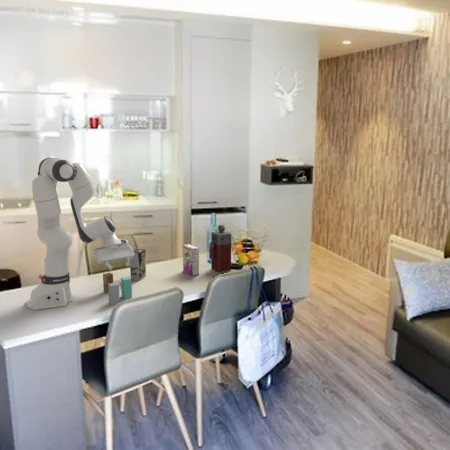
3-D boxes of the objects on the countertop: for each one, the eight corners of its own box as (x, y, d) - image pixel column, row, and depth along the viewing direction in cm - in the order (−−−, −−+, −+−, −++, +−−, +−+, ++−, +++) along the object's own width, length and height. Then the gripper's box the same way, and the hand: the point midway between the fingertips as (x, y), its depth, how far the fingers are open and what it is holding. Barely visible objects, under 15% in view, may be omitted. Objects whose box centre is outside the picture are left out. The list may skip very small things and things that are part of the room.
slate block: (112, 305, 254) (111, 286, 252) (108, 302, 258) (108, 283, 255) (119, 303, 257) (118, 284, 254) (116, 301, 260) (115, 282, 258)
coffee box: (140, 280, 293) (140, 253, 289) (130, 279, 294) (129, 252, 290) (146, 275, 301) (145, 249, 298) (136, 274, 303) (135, 248, 299)
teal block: (124, 298, 263) (124, 280, 261) (121, 296, 267) (120, 278, 264) (131, 297, 266) (131, 278, 263) (128, 295, 269) (128, 276, 267)
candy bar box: (182, 271, 310) (182, 244, 307) (189, 269, 313) (189, 243, 310) (192, 276, 301) (191, 249, 298) (199, 274, 304) (199, 247, 300)
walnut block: (106, 293, 270) (105, 275, 268) (103, 291, 273) (102, 273, 271) (113, 292, 272) (113, 274, 270) (110, 290, 276) (110, 272, 274)
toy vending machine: (207, 269, 315) (208, 224, 309) (223, 266, 321) (223, 222, 315) (215, 273, 307) (215, 227, 301) (231, 270, 313) (231, 225, 307)
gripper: (94, 245, 267) (102, 267, 262) (130, 239, 279) (139, 261, 273) (91, 251, 272) (99, 274, 266) (127, 246, 283) (135, 267, 278)
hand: (119, 267), depth 270 cm, fingers open, 8 cm apart
